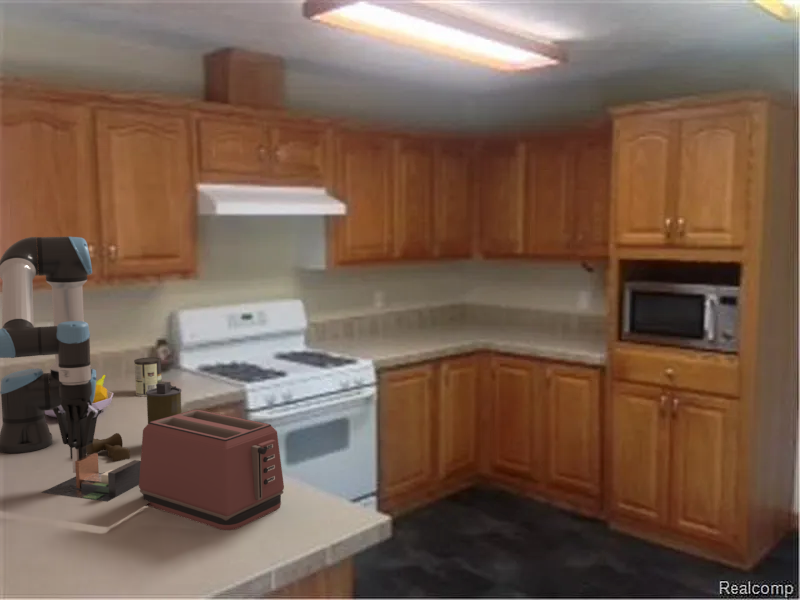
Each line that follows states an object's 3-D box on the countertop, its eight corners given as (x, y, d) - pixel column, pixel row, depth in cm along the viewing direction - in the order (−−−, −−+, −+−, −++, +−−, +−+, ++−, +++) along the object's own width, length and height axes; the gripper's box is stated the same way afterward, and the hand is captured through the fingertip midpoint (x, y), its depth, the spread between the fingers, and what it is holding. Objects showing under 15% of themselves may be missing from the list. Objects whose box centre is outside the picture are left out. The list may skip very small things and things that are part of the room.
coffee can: (151, 389, 295) (149, 356, 293) (167, 392, 289) (166, 358, 288) (130, 394, 286) (128, 360, 285) (146, 397, 281) (145, 362, 279)
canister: (172, 451, 213) (170, 387, 211) (141, 449, 216) (138, 385, 213) (190, 441, 224) (188, 379, 222) (160, 439, 226) (157, 377, 224)
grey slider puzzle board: (41, 496, 178) (39, 469, 177) (86, 475, 193) (85, 450, 192) (107, 506, 172) (106, 477, 171) (149, 483, 187) (148, 457, 186)
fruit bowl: (58, 427, 239) (57, 395, 238) (20, 414, 255) (19, 384, 254) (133, 410, 261) (132, 380, 260) (94, 399, 277) (93, 371, 276)
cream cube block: (101, 489, 180) (101, 474, 179) (112, 484, 183) (111, 469, 183) (114, 491, 178) (114, 476, 178) (125, 486, 182) (124, 470, 182)
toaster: (235, 535, 156) (233, 445, 154) (137, 503, 174) (133, 422, 172) (293, 507, 172) (291, 425, 170) (197, 479, 190) (195, 405, 188)
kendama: (105, 470, 199) (80, 451, 214) (138, 463, 206) (112, 445, 220) (105, 449, 199) (79, 432, 213) (138, 443, 205) (112, 427, 220)
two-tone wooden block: (76, 488, 180) (75, 461, 179) (95, 478, 187) (94, 452, 186) (97, 491, 178) (96, 463, 177) (116, 481, 185) (115, 455, 184)
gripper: (43, 383, 179) (47, 473, 182) (85, 386, 176) (89, 478, 178) (65, 377, 186) (69, 464, 189) (106, 380, 183) (109, 469, 185)
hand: (79, 471), depth 183 cm, fingers closed
